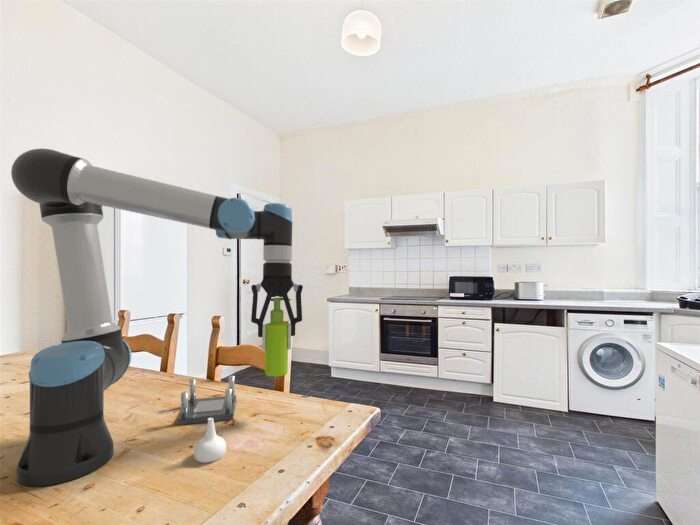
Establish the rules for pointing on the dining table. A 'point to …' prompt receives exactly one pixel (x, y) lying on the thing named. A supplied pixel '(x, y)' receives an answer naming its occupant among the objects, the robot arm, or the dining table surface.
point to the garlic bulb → (210, 445)
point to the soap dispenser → (276, 342)
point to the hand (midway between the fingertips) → (276, 348)
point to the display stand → (207, 405)
